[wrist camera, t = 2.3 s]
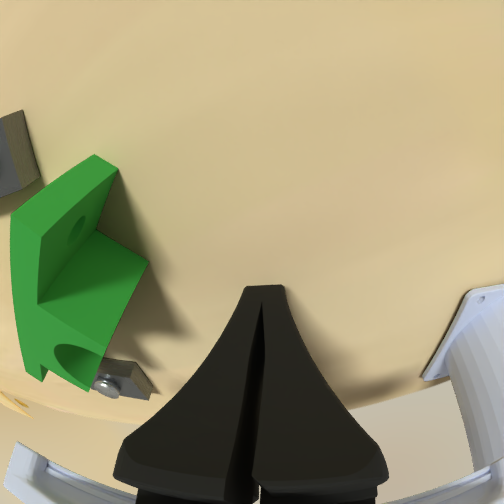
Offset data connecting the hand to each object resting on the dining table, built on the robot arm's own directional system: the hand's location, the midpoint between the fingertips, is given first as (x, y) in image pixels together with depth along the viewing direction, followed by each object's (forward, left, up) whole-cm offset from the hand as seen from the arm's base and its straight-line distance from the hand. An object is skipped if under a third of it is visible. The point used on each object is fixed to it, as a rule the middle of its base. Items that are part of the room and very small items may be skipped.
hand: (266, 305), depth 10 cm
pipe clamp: (+8, -1, -1) cm, 8 cm away
